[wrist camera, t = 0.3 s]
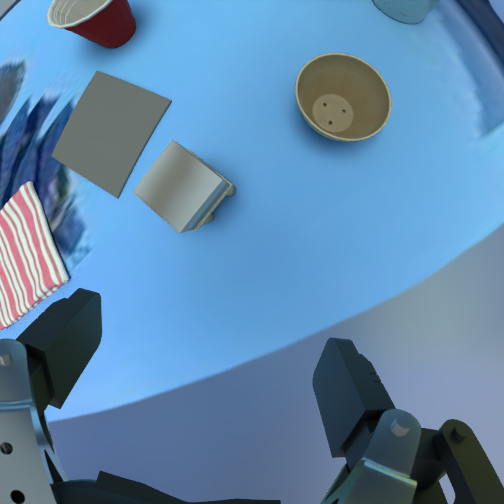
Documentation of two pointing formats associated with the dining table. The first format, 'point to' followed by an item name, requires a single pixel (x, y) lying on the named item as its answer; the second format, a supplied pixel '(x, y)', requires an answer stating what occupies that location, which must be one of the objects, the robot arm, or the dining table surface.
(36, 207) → the dish towel
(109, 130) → the mat
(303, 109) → the flower pot
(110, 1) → the plastic cup
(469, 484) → the robot arm
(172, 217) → the stool
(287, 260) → the dining table surface
